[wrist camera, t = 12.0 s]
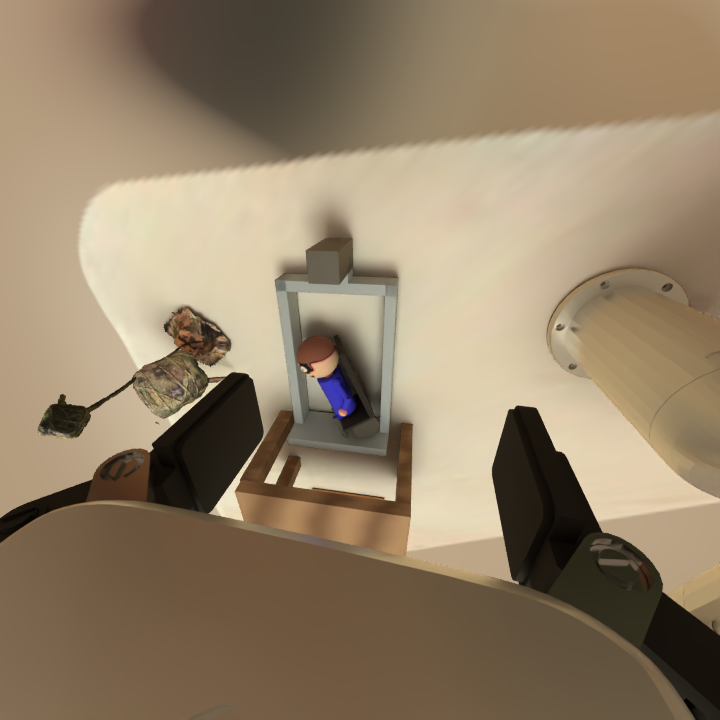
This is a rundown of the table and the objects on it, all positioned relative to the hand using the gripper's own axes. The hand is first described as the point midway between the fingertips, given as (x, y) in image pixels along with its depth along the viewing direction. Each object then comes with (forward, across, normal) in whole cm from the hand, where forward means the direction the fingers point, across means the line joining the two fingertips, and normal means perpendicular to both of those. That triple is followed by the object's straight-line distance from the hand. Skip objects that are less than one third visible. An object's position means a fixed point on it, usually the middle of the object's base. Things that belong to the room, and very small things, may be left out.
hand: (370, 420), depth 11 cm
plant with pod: (+25, +28, +12) cm, 40 cm away
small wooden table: (+26, +9, +29) cm, 40 cm away
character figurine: (+27, +8, +15) cm, 31 cm away
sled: (+26, +8, +10) cm, 29 cm away
